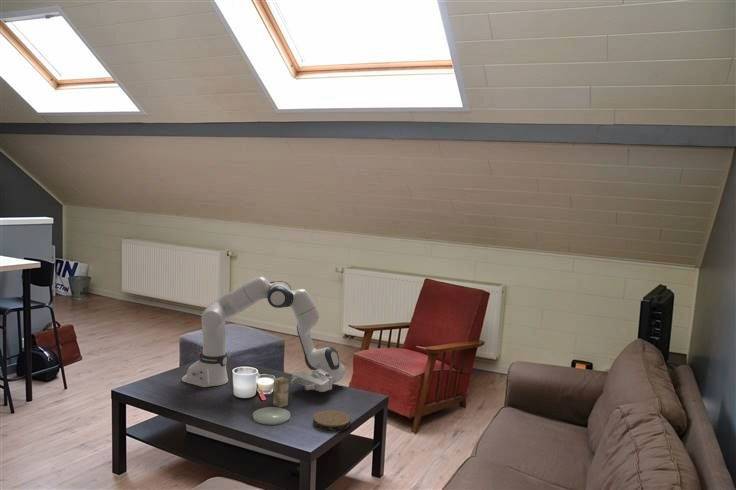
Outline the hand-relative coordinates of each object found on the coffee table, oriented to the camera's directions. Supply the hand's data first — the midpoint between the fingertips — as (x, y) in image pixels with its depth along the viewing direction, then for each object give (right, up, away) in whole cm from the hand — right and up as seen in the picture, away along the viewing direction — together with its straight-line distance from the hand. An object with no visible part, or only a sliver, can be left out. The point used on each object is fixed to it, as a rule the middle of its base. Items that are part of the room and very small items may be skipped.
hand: (298, 385), depth 278 cm
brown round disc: (+17, -11, -25) cm, 32 cm away
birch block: (-7, -7, -8) cm, 13 cm away
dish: (-9, -9, -22) cm, 25 cm away
